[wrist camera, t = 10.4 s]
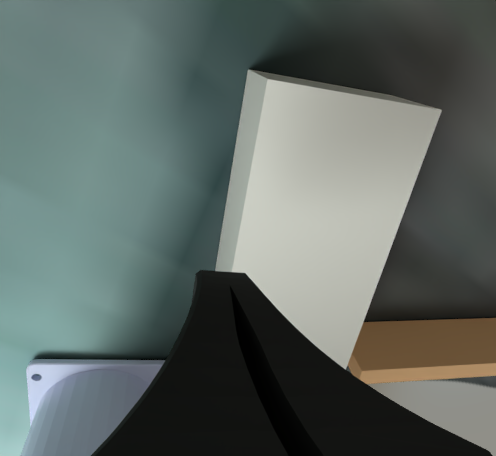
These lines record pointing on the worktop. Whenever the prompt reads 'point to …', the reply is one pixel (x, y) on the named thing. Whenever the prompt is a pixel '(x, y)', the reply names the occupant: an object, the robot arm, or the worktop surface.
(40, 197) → the worktop surface
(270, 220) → the pale upright slab
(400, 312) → the worktop surface
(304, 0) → the worktop surface
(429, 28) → the worktop surface
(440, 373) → the side door
